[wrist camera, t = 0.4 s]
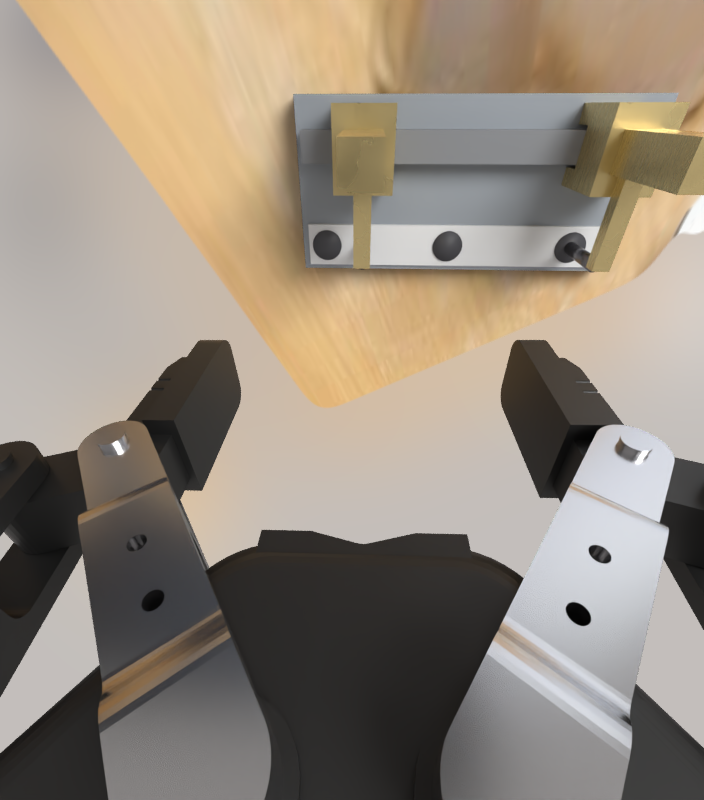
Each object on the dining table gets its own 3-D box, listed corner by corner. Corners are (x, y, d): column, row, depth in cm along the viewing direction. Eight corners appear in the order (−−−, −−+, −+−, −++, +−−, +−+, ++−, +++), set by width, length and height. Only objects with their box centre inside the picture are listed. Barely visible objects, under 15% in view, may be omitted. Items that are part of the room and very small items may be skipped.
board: (297, 94, 29) (289, 93, 26) (661, 93, 28) (693, 92, 25) (308, 260, 36) (303, 273, 33) (597, 263, 35) (616, 277, 32)
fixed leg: (584, 102, 27) (699, 101, 17) (644, 102, 27) (793, 101, 17) (542, 252, 33) (610, 312, 23) (590, 253, 33) (679, 313, 23)
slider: (336, 103, 27) (317, 102, 18) (394, 102, 27) (405, 102, 18) (339, 251, 33) (326, 307, 24) (386, 251, 33) (392, 308, 24)
